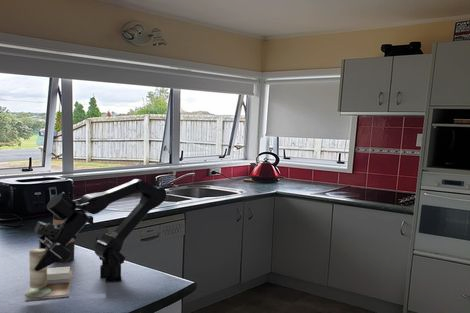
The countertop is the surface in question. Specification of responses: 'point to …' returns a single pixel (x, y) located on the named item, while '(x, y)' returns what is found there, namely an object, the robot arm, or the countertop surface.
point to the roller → (37, 277)
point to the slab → (58, 275)
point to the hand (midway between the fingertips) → (33, 267)
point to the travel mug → (70, 244)
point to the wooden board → (49, 291)
